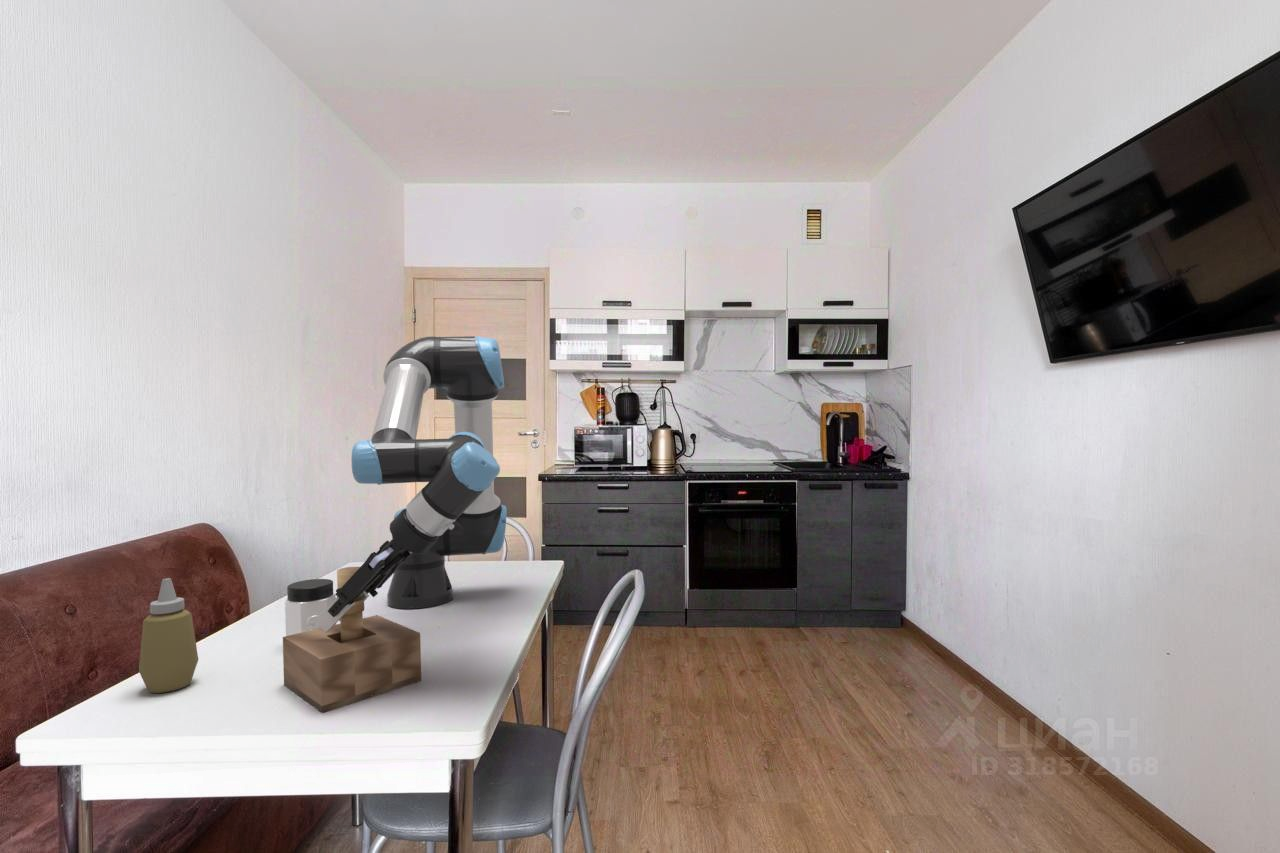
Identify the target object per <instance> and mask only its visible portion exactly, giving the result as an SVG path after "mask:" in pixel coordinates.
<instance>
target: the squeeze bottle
mask: <svg viewBox="0 0 1280 853" xmlns="http://www.w3.org/2000/svg"><path fill="white" fill-rule="evenodd" d="M161 580H162V581H161V584H160V588H159V592H158V593H159V594H158V596H157V600H154V601H151V602H150V604H149V613H150V614H149V615H147V616H146V617H145V618H144V620H143V621H142V633H141V641H140V642H141V644H140V652H139V664H138V672H139V675H140V676H141V678H142V681H143V683H144V685H145V687H146V689H147V692H149V693H153V694H158V693H159V694H161V693H169V692H172V691H177V690H179V689H180V690H181V689H182V688H185V687H186V686H189V685H190V684H191V682H192V680H193V677H194V674H195V671H196V667H197V665H198V662H199V653H198V648H197V647H198V646H197V642H196V634H195V629H194V628H195V627H194V622H193V615H192V612H190V611H189V610H188V609H185V606H186V604H185V598H184V597H179V596H178V597H177V594H176V590H175V588H174V584H173V582H172V578H170V577H168V578H162V579H161Z"/></svg>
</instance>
